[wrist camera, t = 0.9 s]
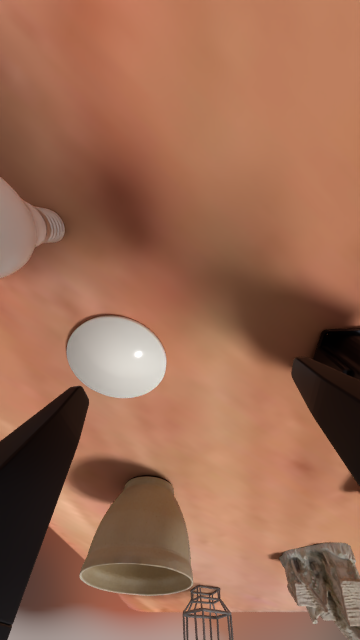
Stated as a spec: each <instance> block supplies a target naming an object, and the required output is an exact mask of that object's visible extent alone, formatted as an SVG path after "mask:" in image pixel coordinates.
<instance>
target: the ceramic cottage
mask: <svg viewBox="0 0 360 640" xmlns="http://www.w3.org/2000/svg"><path fill="white" fill-rule="evenodd" d="M279 558H280V561H281V563H282V566H283V567H284V568H285V572H286V577H287V581H288V585H287V587H288V590H289V592H290V593H291V595H292V597H293V598H294V600H295V602H296V603H297V605H298V606H306V608H307V610H308V613H309V615H310V618H311V620H312V623H313V624H317V622H318V621H317V619H316V618H318V617H319V615H320V616H321V618H322V619H323V620H334V622H335V624H336V625H337V627H338V628H339V629H340V631H341V632H342V633H343V634H344V636H345V637H346V638H347V640H360V576H359V573H358V571H357V569H356V566H355V562H356V560H355V557H354V554H353V552H352V550H351V546H350V545H348V544H346V543H321V544H317V545H313V546H312V545H311V546H306V547H303V548H302V547H301V548H297V549H292V550H288V551H285V552H284V553H283V555H282V556H281V557H279Z"/></svg>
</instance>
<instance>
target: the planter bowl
mask: <svg viewBox="0 0 360 640" xmlns="http://www.w3.org/2000/svg"><path fill="white" fill-rule="evenodd" d="M80 579H81V580H82V581H83V582H84V583H86V584H88V585H90V586H92V587H95V588H98V589H101V590H105V591H110V592H115V593H122V594H132V595H147V596H155V595H168V594H173V593H178V592H182V591H185V590H187V589H189V588H191V587H192V585H193V574H192V569H191V557H190V546H189V538H188V533H187V528H186V524H185V521H184V518H183V514H182V512H181V509H180V507H179V505H178V503H177V501H176V499H175V497H174V489H173V487H172V485H171V484H170V483H168V482H167V481H166V480H163V479H160V478H156V477H148V476H145V477H137V478H133V479H131V480H129V481H128V482H127V483H126V485H125V487H124V490H123V492H122V493H121V494H120V495H119V496H118V497H117V498H116V500H115V501H114V502H113V504H112V505H111V506H110V508H109V509H108V511H107V512H106V514H105V516H104V517H103V519H102V521H101V523H100V525H99V527H98V529H97V531H96V533H95V536H94V538H93V541H92V543H91V546H90V549H89V552H88V555H87V558H86V560H85V562H84V564H83V566H82V569H81V572H80Z"/></svg>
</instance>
